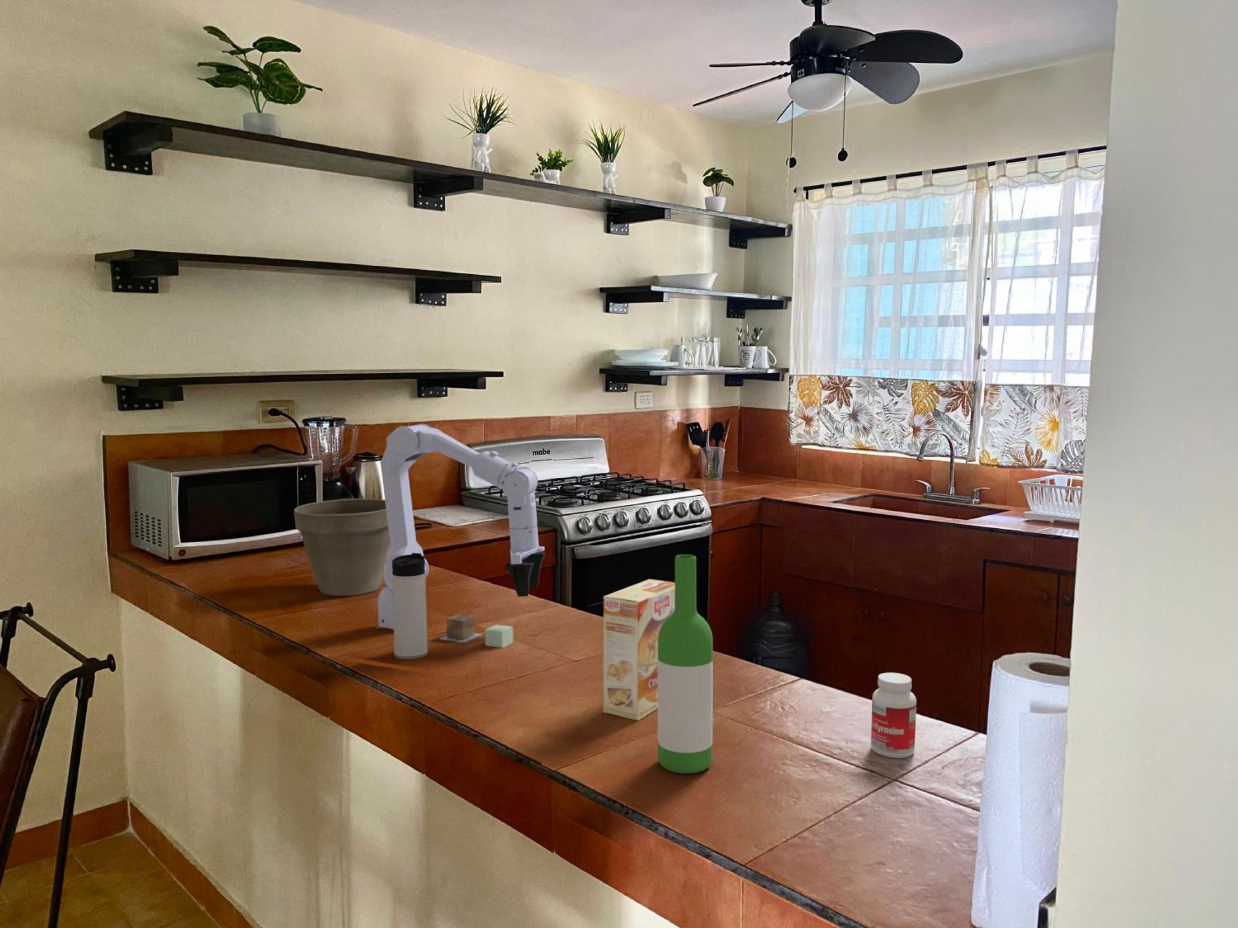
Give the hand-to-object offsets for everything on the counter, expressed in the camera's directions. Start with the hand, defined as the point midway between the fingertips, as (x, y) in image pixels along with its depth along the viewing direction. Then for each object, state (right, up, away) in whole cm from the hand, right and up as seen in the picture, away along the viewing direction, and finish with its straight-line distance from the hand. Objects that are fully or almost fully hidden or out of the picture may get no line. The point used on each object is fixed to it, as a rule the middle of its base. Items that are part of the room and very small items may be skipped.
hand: (528, 591), depth 194 cm
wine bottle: (+28, -16, -61) cm, 70 cm away
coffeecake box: (+23, -14, -37) cm, 46 cm away
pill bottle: (+59, -16, -57) cm, 83 cm away
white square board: (-14, -10, 0) cm, 17 cm away
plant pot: (-50, -6, +44) cm, 66 cm away
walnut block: (-14, -9, 0) cm, 17 cm away
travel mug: (-21, -11, -12) cm, 27 cm away
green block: (-5, -11, -5) cm, 13 cm away
